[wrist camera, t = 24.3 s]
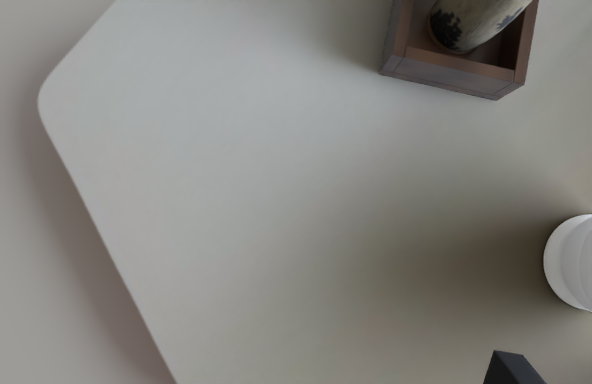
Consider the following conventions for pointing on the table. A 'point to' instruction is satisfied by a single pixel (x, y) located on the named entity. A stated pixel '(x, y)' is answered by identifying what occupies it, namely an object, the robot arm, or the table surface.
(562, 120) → the table surface
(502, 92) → the square wooden tray
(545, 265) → the jar
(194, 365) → the table surface
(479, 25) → the mug
